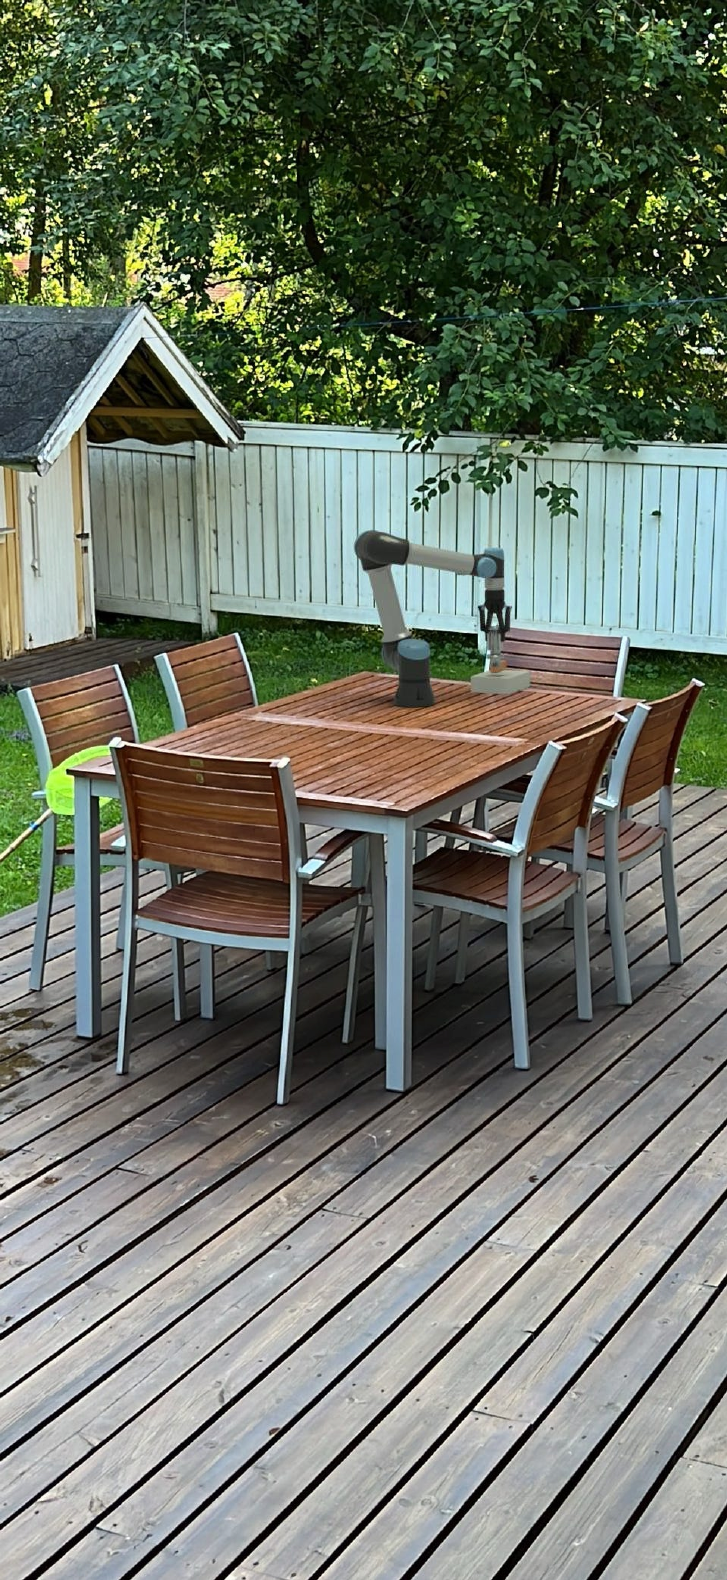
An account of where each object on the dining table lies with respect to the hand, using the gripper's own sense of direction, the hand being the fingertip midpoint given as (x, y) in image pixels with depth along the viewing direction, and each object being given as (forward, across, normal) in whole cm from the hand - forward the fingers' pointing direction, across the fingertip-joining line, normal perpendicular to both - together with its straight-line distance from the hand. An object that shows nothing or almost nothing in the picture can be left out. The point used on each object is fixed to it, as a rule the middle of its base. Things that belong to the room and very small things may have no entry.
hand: (495, 649), depth 686 cm
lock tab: (+10, -4, +12) cm, 16 cm away
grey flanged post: (+6, 0, 0) cm, 6 cm away
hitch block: (+16, 0, +5) cm, 17 cm away
